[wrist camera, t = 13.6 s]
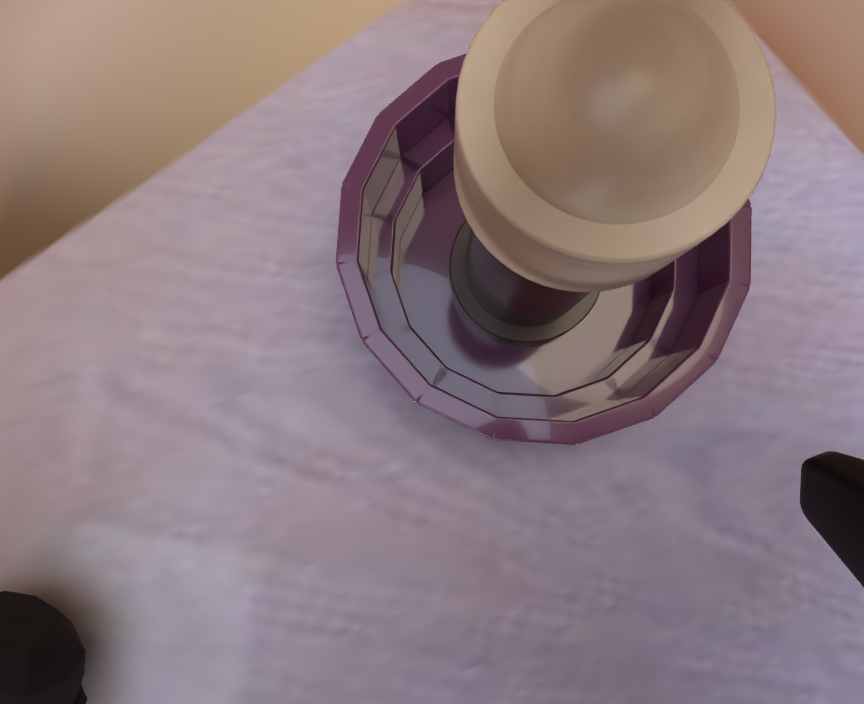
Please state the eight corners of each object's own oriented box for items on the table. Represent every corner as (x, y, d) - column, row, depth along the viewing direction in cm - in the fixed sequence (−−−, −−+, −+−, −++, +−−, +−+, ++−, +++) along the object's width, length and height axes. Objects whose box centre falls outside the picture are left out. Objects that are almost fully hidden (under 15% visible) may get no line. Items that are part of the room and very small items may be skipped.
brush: (621, 238, 21) (881, -20, 9) (558, 371, 21) (736, 303, 8) (488, 177, 22) (551, -163, 9) (424, 306, 21) (395, 144, 9)
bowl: (733, 201, 22) (817, 140, 17) (600, 492, 21) (648, 516, 16) (446, 71, 23) (447, -24, 18) (306, 349, 22) (266, 330, 17)
